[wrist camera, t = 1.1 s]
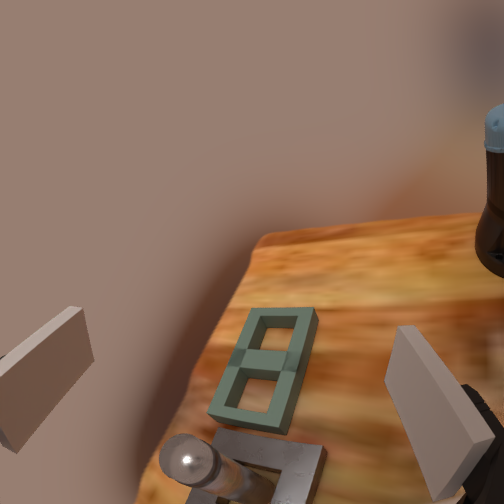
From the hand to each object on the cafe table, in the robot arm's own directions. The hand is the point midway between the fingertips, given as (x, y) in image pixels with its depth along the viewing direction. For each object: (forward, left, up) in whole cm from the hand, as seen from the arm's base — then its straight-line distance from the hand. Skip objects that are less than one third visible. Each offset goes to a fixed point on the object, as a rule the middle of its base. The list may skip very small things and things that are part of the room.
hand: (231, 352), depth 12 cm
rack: (+12, -13, -27) cm, 32 cm away
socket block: (+8, +4, -27) cm, 28 cm away
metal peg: (+8, +4, -27) cm, 28 cm away
